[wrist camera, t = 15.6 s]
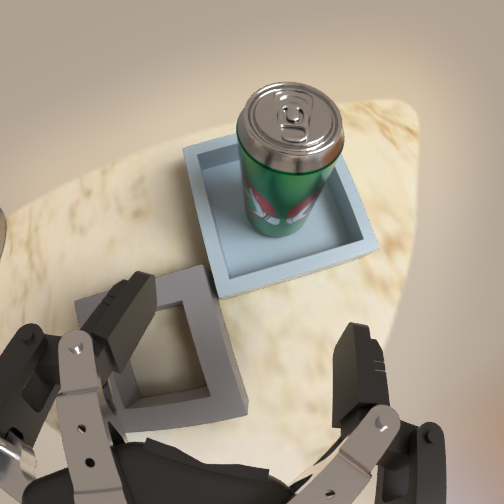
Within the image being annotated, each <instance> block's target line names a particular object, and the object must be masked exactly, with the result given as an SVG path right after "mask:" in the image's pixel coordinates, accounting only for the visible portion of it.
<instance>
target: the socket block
mask: <svg viewBox="0 0 504 504" xmlns="http://www.w3.org/2000/svg"><path fill="white" fill-rule="evenodd" d="M155 282H156V293H157V308H156V311H159V310H163V309H167V308H171V307H174V306H178V305H182V304H183V305H184V309H185V313H186V316H187V320H188V324H189V327H190V331H191V334H192V338H193V341H194V345H195V348H196V351H197V355H198V358H199V361H200V364H201V368H202V371H203V374H204V377H205V380H206V383H207V386H205V387H201V388H196V389H190V390H185V391H180V392H174V393H168V394H162V395H155V396H148V397H141V395H140V392H139V389H138V386H137V383H136V380H135V377H134V374H133V371H132V367H131V364H130V361H128V363H127V364H126V366H125V368H124V370H123V372H122V374H119V373H116V372H114V371H112V373H111V375H110V377H109V379H110V384H111V389H112V393H113V397H114V401H115V405H116V409H117V413H118V417H119V420H120V422H121V424H122V427H123V429H124V432H125V433H128V432H143V431H155V430H165V429H173V428H181V427H188V426H195V425H201V424H207V423H212V422H218V421H223V420H228V419H232V418H237V417H241V416H246V415H247V414H248V401H249V400H248V397H247V394H246V391H245V387H244V384H243V381H242V378H241V375H240V372H239V369H238V365H237V362H236V359H235V356H234V352H233V349H232V346H231V342H230V339H229V336H228V332H227V329H226V325H225V322H224V319H223V315H222V312H221V308H220V304H219V301H218V297H217V294H216V290H215V286H214V283H213V279H212V275H211V272H210V270H209V269H207V268H206V267H205V266H204V265H203V264H201V265H198V266H194V267H191V268H187V269H184V270H180V271H177V272H173V273H170V274H167V275H163V276H160V277H156V278H155ZM108 292H109V291H108ZM108 292H104V293H101V294H97V295H94V296H90V297H87V298H83V299H80V300H76V301H74V302H75V307H76V313H77V318H78V322H79V327H80V329H81V327H82V326H83V325H84V323H85V322H86V321H87V319H88V318H89V317H90V315H91V314H92V313H93V311H94V310H95V309H96V307H97V306H98V305H99V303H101V301H102V300H103V298H104V297H105V296H106V295H107V293H108Z"/></svg>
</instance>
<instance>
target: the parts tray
mask: <svg viewBox="0 0 504 504" xmlns="http://www.w3.org/2000/svg"><path fill="white" fill-rule="evenodd" d="M182 149H183V153H184V158H185V163H186V167H187V172H188V176H189V181H190V185H191V190H192V194H193V198H194V202H195V207H196V211H197V215H198V219H199V223H200V227H201V231H202V235H203V239H204V243H205V247H206V251H207V255H208V259H209V263H210V266H211V270H212V274H213V278H214V281H215V285H216V289H217V292H218V296H219V298H222V299H228V298H231V297H235V296H239V295H242V294H246V293H249V292H253V291H256V290H259V289H263V288H266V287H270V286H273V285H276V284H280V283H283V282H286V281H290V280H293V279H296V278H300V277H303V276H306V275H309V274H312V273H316V272H319V271H322V270H325V269H328V268H331V267H335V266H338V265H341V264H344V263H347V262H350V261H353V260H356V259H359V258H362V257H364V256H366V255H368V254H370V253H372V252H374V251H376V250H378V249H380V248H379V245H378V243H377V240H376V237H375V234H374V231H373V229H372V226H371V223H370V221H369V218H368V215H367V213H366V210H365V208H364V205H363V203H362V200H361V198H360V195H359V193H358V190H357V188H356V186H355V183H354V181H353V179H352V177H351V174H350V172H349V170H348V168H347V165H346V163H345V161H344V159H343V157H342V155H341V154H340V156H339V158H338V160H337V162H336V164H335V166H334V168H333V170H332V172H331V174H330V176H329V178H328V180H327V182H326V184H325V185H324V187H323V189H322V191H321V193H320V195H319V197H318V199H317V201H316V203H315V205H314V206H313V208H312V210H311V212H310V214H309V216H308V218H307V220H306V221H305V223H304V225H303V226H302V227H301V228H300V229H299V230H298V231H297V232H295V233H293V234H291V235H289V236H285V237H270V236H267V235H264V234H262V233H260V232H259V231H257V230H256V229H255V228H254V227H253V226H252V225H251V224H250V222H249V220H248V218H247V216H246V212H245V205H244V196H243V188H242V179H241V170H240V161H239V152H238V143H237V134H232V135H228V136H224V137H220V138H216V139H213V140H209V141H206V142H202V143H199V144H195V145H192V146H189V147H185V148H182Z"/></svg>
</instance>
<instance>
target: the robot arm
mask: <svg viewBox="0 0 504 504" xmlns="http://www.w3.org/2000/svg"><path fill="white" fill-rule="evenodd" d="M5 232H6V222H5V216H4V213H3V211H2V209H1V208H0V256H1V253H2V250H3V246H4V240H5ZM156 308H157V293H156V282H155V277H154V275H151V274H147V273H144V272H140V271H136V272H135V273H134V274H133V275H132V277H131V278H130V279H129V280H128V281H127V280H124V279H123V280H122V281H120V282H119V283H117V284H115V285H114V286H113V287H112V288H111V289H110V291H109V292H108V293H107V295H106V296H105V297H104V298H103V300H102V301H101V303H99V305H98V306H97V307H96V309H95V310H94V311H93V313H92V314H91V315H90V317H89V318H88V319H87V321H86V322H85V323H84V325H83V326H82V327H81V329H80V330H73V331H70V332H67V333H66V334H65V335H63V336H53V335H46V334H44V333H43V331H42V329H41V328H40V327H39V326H38V325H37V324H33V323H30V324H26V325H24V326H22V327H21V328H20V329H19V330H18V331H17V332H16V334H15V335H14V337H13V338H12V339H11V341H10V342H9V344H8V345H7V347H6V348H5V350H4V351H3V353H2V354H1V356H0V488H2V489H3V490H4V491H5V492H6V493H8V494H9V495H10V496H11V497H13V498H14V499H15V500H17V501H18V502H19V503H21V504H351V503H352V502H353V501H354V500H355V499H356V497H357V496H358V495H359V494H360V493H361V491H362V490H363V489H364V488H365V487H366V485H367V484H368V482H369V481H370V479H371V477H372V475H371V474H370V473H371V471H372V469H373V468H374V466H375V465H378V473H377V486H376V496H375V504H446V455H445V440H444V434H443V431H442V429H441V428H440V426H438V425H437V424H436V423H433V422H426V423H424V424H422V425H421V426H420V427H418V426H415V425H412V424H409V423H407V422H404V421H402V420H400V418H399V415H398V414H397V412H396V411H395V410H394V409H393V408H391V407H390V403H389V394H388V385H387V378H386V372H385V364H384V358H383V351H382V349H381V347H380V345H379V343H378V342H377V340H375V339H371V337H370V331H369V327H368V326H367V325H363V324H358V323H352V322H350V323H349V324H348V325H347V327H346V329H345V331H344V332H343V334H342V336H341V338H340V339H339V341H338V343H337V344H336V346H335V349H334V353H333V412H332V428H341V435H340V436H339V437H338V438H337V439H336V440H335V441H334V442H333V443H332V444H331V446H330V447H329V448H328V449H327V450H326V451H325V452H324V453H323V454H322V455H321V456H320V457H319V458H318V459H317V460H316V461H315V462H314V463H313V464H312V465H311V466H310V467H309V468H308V469H307V470H305V471H304V472H303V473H301V474H300V475H299V476H298V477H297V478H296V479H294V480H293V481H292V482H291V483H290V484H289V485H288V486H287V485H286V484H285V483H283V482H282V481H280V480H279V479H277V478H275V477H273V476H271V475H269V469H263V468H256V467H251V466H245V465H240V464H205V463H202V462H200V461H198V460H196V459H195V458H193V457H191V456H189V455H187V454H186V453H184V452H182V451H181V450H179V449H177V448H175V447H172V446H169V445H166V444H163V443H161V442H158V441H155V440H152V439H150V438H147V439H146V442H128V441H127V437H126V434H125V432H124V429H123V427H122V424H121V422H120V420H119V417H118V413H117V409H116V405H115V401H114V397H113V393H112V389H111V384H110V379H109V377H110V375H111V373H112V371H114V372H116V373H119V374H122V372H123V370H124V368H125V366H126V364H127V363H128V361H129V359H130V357H131V355H132V354H133V352H134V350H135V348H136V346H137V345H138V343H139V341H140V339H141V337H142V336H143V334H144V332H145V330H146V329H147V327H148V325H149V323H150V322H151V320H152V318H153V316H154V315H155V312H156ZM32 372H33V373H32ZM29 377H30V378H29ZM28 379H29V380H28ZM25 384H26V385H25ZM24 386H25V387H24ZM23 388H24V389H23ZM60 389H61V394H58V392H59V390H60ZM57 394H58V395H57ZM56 396H57V399H56V402H57V411H58V418H59V425H60V431H61V436H62V441H63V446H64V451H65V455H66V460H67V464H68V467H67V468H64V469H62V470H59V471H57V472H54V473H52V474H49V475H46V476H44V477H41V478H38V479H36V477H35V473H34V468H36V466H37V461H36V458H35V454H34V451H33V449H32V448H33V446H34V444H35V441H36V439H37V437H38V434H39V432H40V430H41V427H42V425H43V423H44V421H45V419H46V417H47V415H48V413H49V411H50V408H51V406H52V404H53V402H54V400H55V398H56Z"/></svg>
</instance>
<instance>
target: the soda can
mask: <svg viewBox="0 0 504 504" xmlns="http://www.w3.org/2000/svg"><path fill="white" fill-rule="evenodd" d="M236 134H237V143H238V152H239V161H240V170H241V179H242V188H243V196H244V205H245V212H246V216H247V218H248V220H249V222H250V224H251V225H252V226H253V227H254V228H255V229H256V230H257V231H259V232H260V233H262V234H264V235H267V236H270V237H285V236H289V235H291V234H293V233H295V232H297V231H298V230H299V229H300V228H301V227H302V226H303V225H304V223H305V221H306V220H307V218H308V216H309V214H310V212H311V210H312V208H313V206H314V205H315V203H316V201H317V199H318V197H319V195H320V193H321V191H322V189H323V187H324V185H325V184H326V182H327V180H328V178H329V176H330V174H331V172H332V170H333V168H334V166H335V164H336V162H337V160H338V158H339V156H340V154H341V152H342V149H343V146H344V131H343V127H342V118H341V114H340V112H339V109H338V108H337V106H336V105H335V103H334V102H333V101H332V100H331V99H330V98H329V97H328V96H326V95H325V94H324V93H323V92H321V91H319V90H318V89H316V88H313V87H311V86H308V85H305V84H301V83H296V82H279V83H273V84H270V85H267V86H264V87H263V88H260V89H259V90H257V91H256V92H255V93H254V94H253V95H251V97H250V98H249V99H248V101H247V103H246V105H245V108H244V109H243V111H242V112H241V113H240V115H239V118H238V121H237V125H236Z"/></svg>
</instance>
